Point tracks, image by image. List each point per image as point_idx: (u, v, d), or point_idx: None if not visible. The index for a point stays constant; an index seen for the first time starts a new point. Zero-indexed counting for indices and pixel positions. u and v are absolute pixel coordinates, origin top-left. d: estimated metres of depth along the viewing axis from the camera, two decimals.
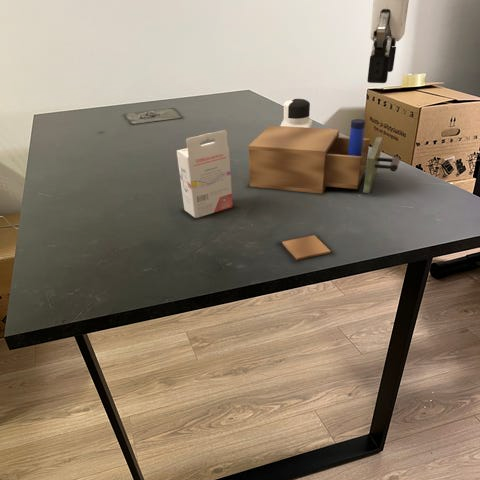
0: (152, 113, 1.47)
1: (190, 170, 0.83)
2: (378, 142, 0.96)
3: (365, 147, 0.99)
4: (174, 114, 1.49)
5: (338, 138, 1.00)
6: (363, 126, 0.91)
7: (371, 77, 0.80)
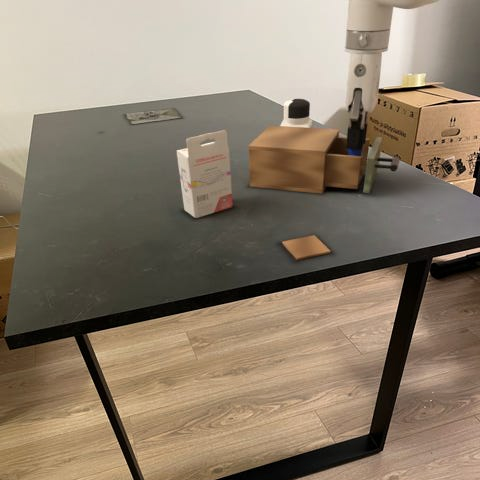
0: (152, 113, 1.47)
1: (190, 170, 0.83)
2: (378, 142, 0.96)
3: (365, 147, 0.99)
4: (174, 114, 1.49)
5: (338, 138, 1.00)
6: None
7: (349, 144, 0.93)
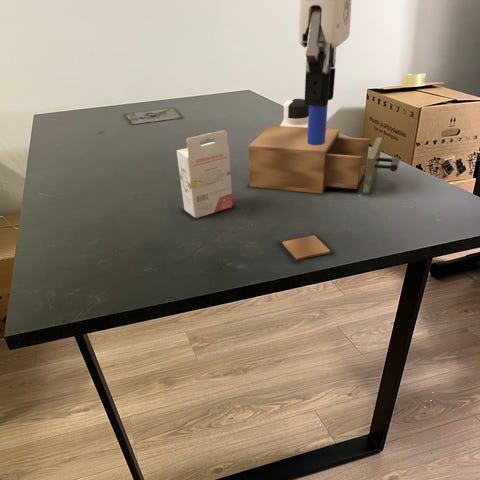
0: (152, 113, 1.47)
1: (190, 170, 0.83)
2: (378, 142, 0.96)
3: (365, 147, 0.99)
4: (174, 114, 1.49)
5: (338, 138, 1.00)
6: None
7: (309, 98, 0.65)
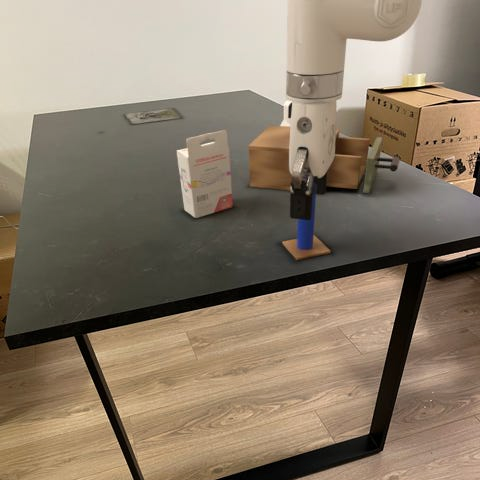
0: (152, 113, 1.47)
1: (190, 170, 0.83)
2: (378, 142, 0.96)
3: (365, 147, 0.99)
4: (174, 114, 1.49)
5: (338, 138, 1.00)
6: (314, 192, 0.71)
7: (294, 213, 0.69)
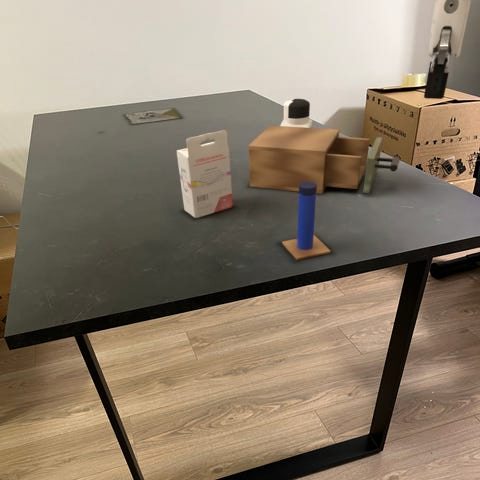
0: (152, 113, 1.47)
1: (190, 170, 0.83)
2: (378, 142, 0.96)
3: (365, 147, 0.99)
4: (174, 114, 1.49)
5: (338, 138, 1.00)
6: (314, 192, 0.71)
7: (428, 93, 0.80)
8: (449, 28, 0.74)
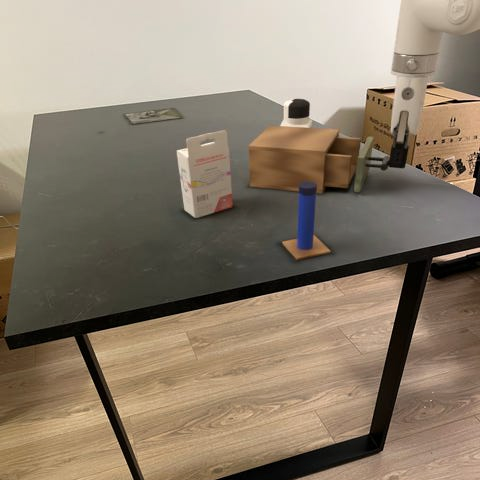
0: (152, 113, 1.47)
1: (190, 170, 0.83)
2: (369, 141, 0.96)
3: (356, 146, 1.00)
4: (174, 114, 1.49)
5: None
6: (314, 192, 0.71)
7: (392, 163, 0.93)
8: (406, 118, 0.84)
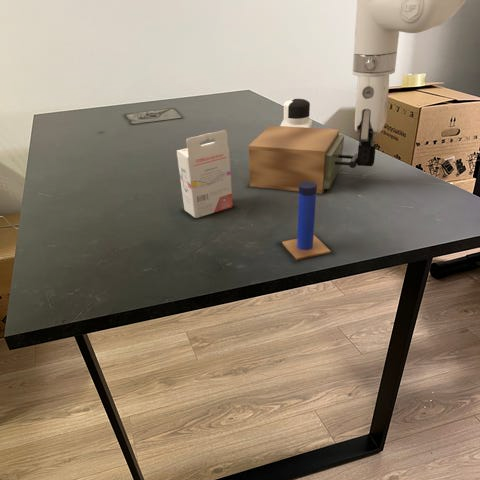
0: (152, 113, 1.47)
1: (190, 170, 0.83)
2: (339, 139, 0.98)
3: None
4: (174, 114, 1.49)
5: None
6: (314, 192, 0.71)
7: (360, 161, 0.95)
8: (368, 116, 0.87)
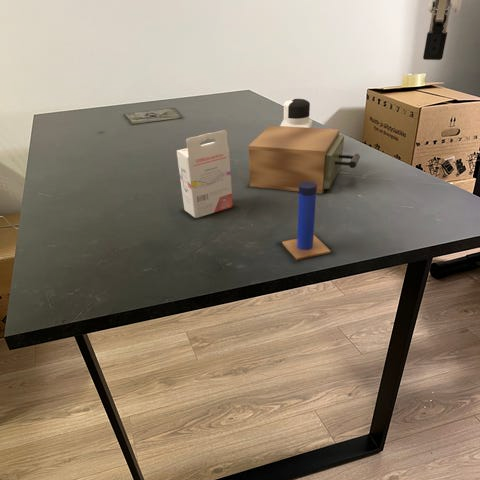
0: (152, 113, 1.47)
1: (190, 170, 0.83)
2: (339, 139, 0.98)
3: None
4: (174, 114, 1.49)
5: None
6: (314, 192, 0.71)
7: (427, 54, 0.82)
8: None
